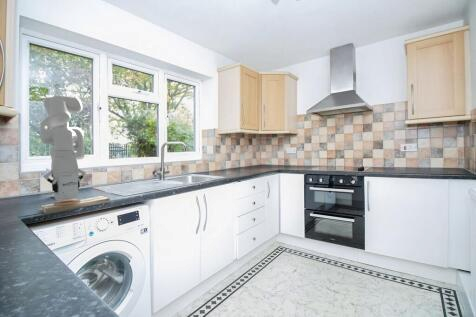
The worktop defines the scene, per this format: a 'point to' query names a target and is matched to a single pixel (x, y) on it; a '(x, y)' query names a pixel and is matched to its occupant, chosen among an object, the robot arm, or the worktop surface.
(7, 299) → the worktop surface
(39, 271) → the worktop surface
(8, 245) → the worktop surface
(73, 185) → the supplement box
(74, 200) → the board
